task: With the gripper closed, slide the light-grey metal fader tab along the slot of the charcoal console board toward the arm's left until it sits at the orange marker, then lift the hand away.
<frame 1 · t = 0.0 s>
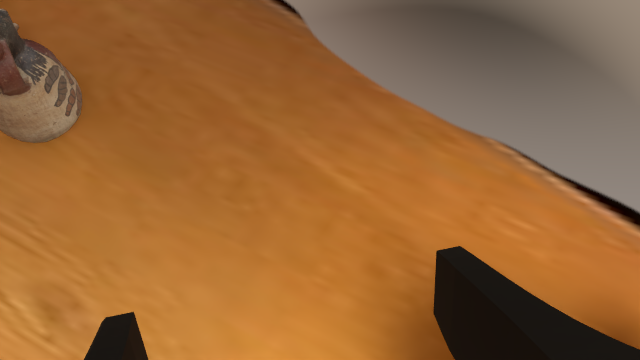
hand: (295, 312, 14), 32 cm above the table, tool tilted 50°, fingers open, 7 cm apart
figurine: (40, 107, 49), on the table
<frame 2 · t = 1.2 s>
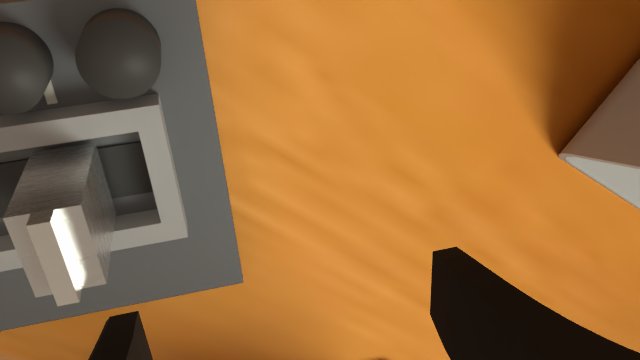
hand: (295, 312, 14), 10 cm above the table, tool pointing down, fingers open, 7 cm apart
fader tab: (65, 220, 18), point 4 cm above the table, slide at 0.0 cm
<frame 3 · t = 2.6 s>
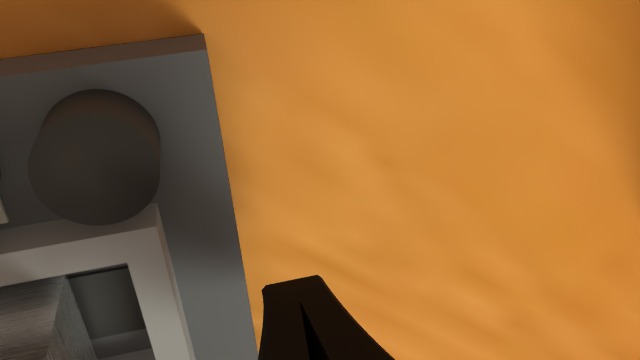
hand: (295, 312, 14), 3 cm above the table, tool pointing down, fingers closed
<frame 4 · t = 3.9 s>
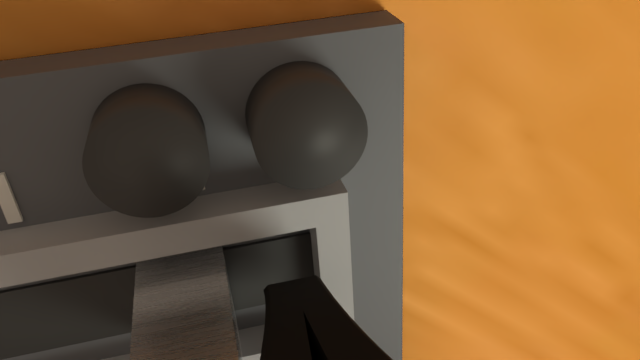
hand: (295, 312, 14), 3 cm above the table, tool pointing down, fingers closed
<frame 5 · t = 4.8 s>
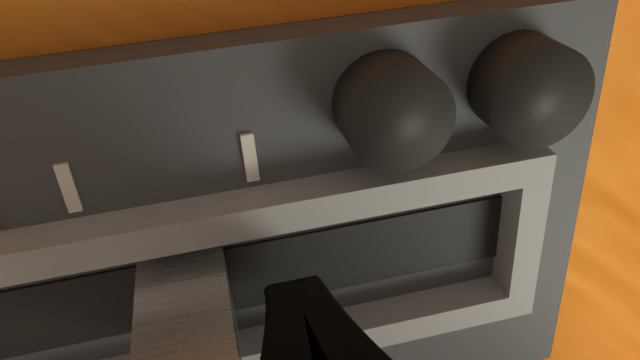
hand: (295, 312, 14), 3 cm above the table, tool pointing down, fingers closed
console board: (187, 258, 16), on the table
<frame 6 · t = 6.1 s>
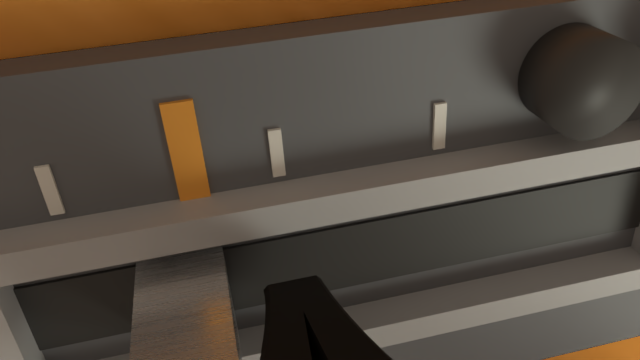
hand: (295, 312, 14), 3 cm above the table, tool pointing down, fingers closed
console board: (351, 227, 17), on the table
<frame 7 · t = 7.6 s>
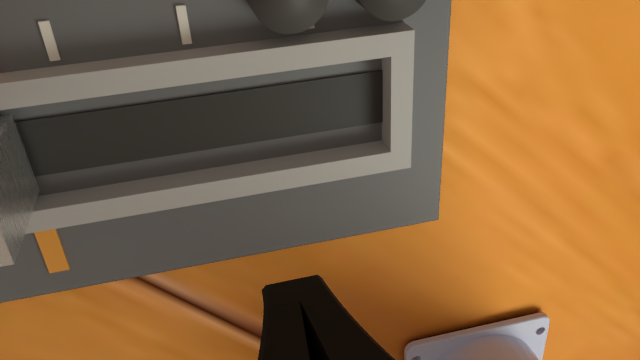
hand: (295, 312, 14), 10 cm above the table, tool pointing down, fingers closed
console board: (142, 117, 21), on the table
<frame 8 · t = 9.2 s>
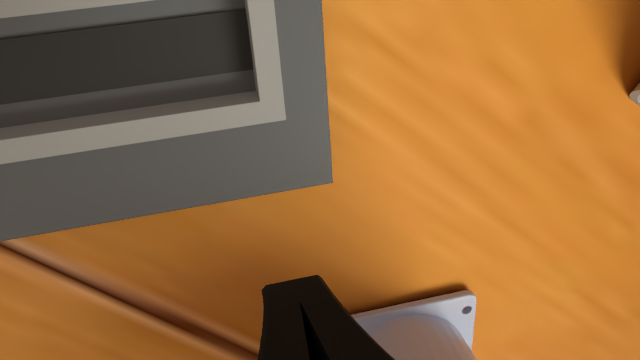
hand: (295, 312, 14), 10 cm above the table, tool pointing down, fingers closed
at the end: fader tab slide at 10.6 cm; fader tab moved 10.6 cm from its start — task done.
